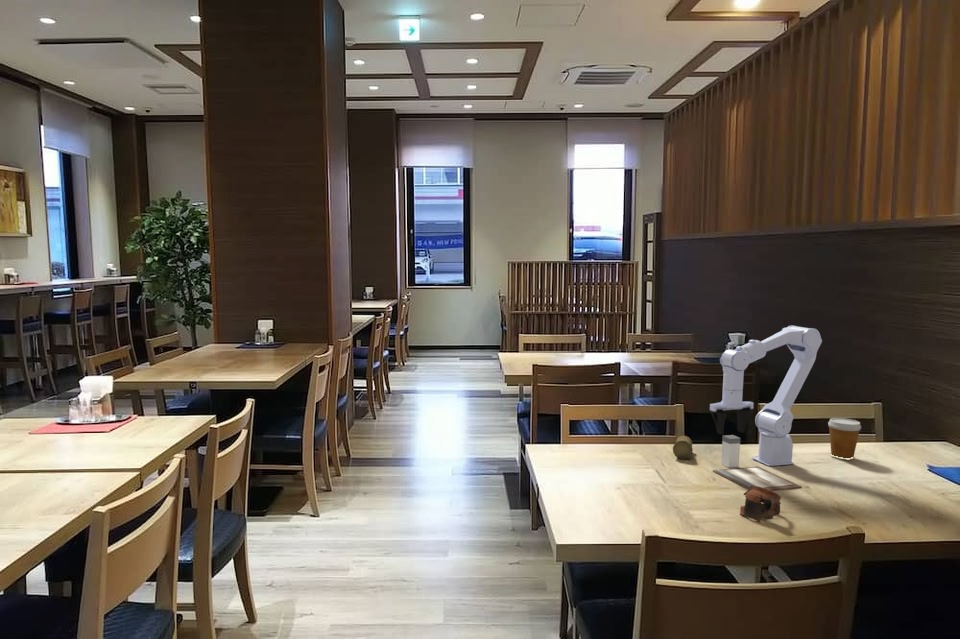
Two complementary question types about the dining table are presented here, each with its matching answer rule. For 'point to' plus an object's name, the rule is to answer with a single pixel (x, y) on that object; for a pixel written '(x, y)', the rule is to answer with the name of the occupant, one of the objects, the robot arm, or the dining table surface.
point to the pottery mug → (754, 505)
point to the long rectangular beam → (730, 451)
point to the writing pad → (756, 478)
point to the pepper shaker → (683, 447)
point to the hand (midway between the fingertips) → (730, 432)
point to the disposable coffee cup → (843, 436)
